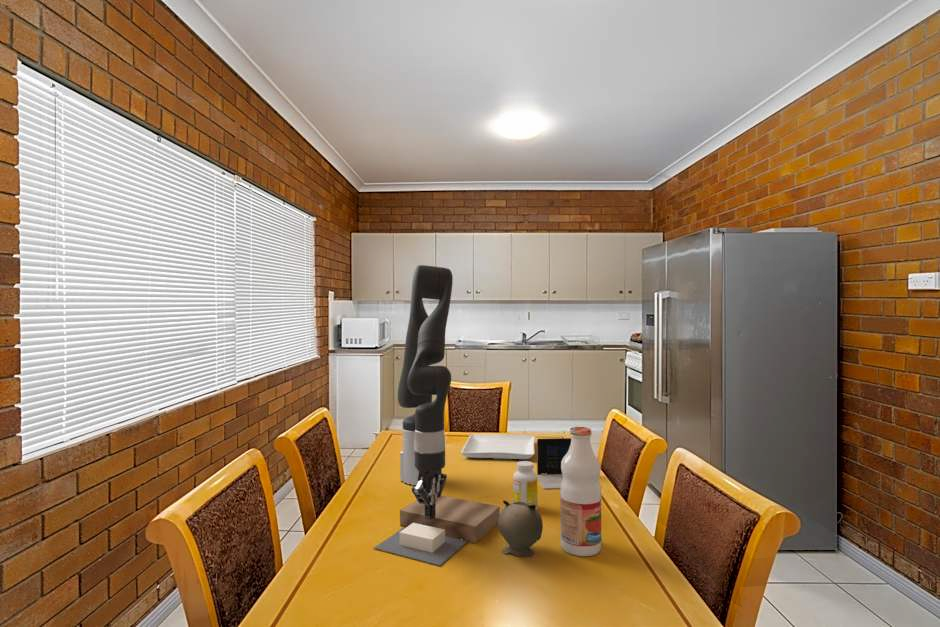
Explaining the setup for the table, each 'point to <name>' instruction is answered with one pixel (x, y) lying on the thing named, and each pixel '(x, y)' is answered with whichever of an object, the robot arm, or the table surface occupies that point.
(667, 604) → the table surface
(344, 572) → the table surface
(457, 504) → the brown wooden block
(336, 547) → the table surface
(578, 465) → the fruit juice
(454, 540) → the mat
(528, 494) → the supplement bottle
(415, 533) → the thick cream block
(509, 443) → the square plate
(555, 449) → the laptop
